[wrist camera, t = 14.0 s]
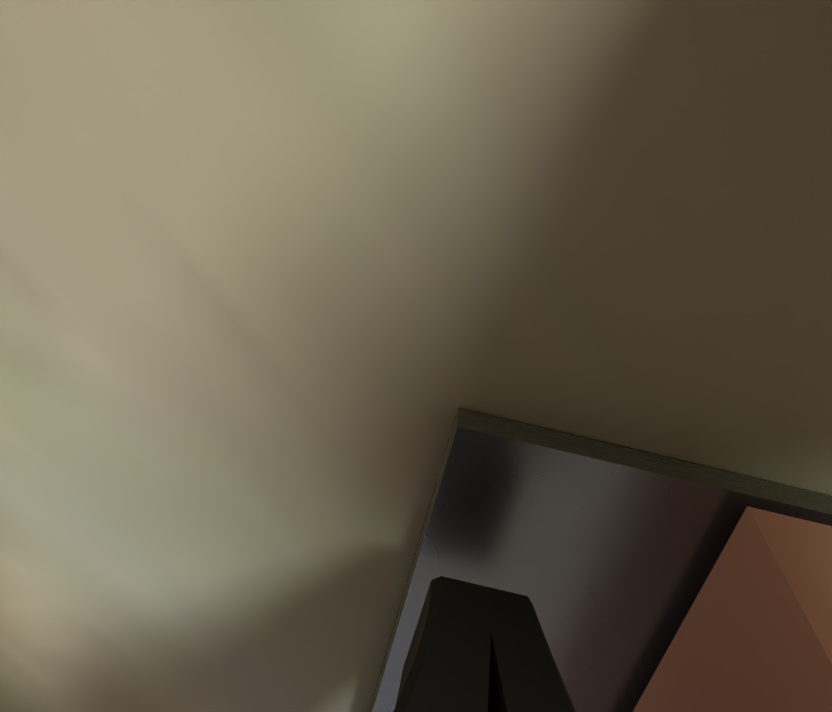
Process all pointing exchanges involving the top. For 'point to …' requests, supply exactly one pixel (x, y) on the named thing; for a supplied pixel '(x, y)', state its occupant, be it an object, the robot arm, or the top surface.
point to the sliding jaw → (755, 626)
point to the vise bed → (580, 546)
